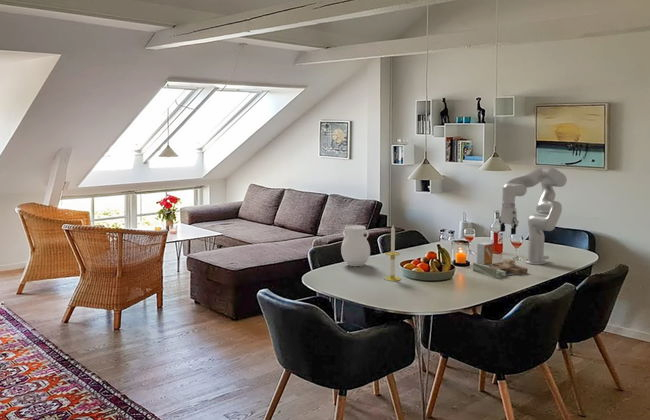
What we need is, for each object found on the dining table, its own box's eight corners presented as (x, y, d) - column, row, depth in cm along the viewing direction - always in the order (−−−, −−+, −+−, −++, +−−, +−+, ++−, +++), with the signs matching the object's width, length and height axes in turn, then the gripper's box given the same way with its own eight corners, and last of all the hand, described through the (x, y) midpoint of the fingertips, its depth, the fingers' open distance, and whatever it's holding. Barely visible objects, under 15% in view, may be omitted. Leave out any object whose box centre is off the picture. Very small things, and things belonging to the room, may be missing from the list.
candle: (396, 282, 369) (397, 226, 364) (380, 279, 374) (381, 224, 369) (403, 278, 377) (404, 223, 372) (388, 276, 382) (389, 222, 378)
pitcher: (336, 267, 405) (336, 228, 402) (346, 261, 422) (346, 223, 419) (364, 269, 398) (364, 230, 395) (373, 263, 415) (374, 225, 412)
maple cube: (509, 264, 397) (509, 258, 396) (514, 266, 392) (515, 260, 392) (502, 265, 395) (503, 259, 394) (508, 267, 390) (508, 261, 390)
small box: (483, 264, 410) (484, 244, 408) (476, 263, 415) (477, 243, 413) (492, 263, 414) (493, 243, 412) (485, 261, 420) (485, 241, 418)
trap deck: (504, 266, 405) (504, 258, 405) (527, 273, 388) (527, 265, 387) (472, 270, 394) (473, 262, 394) (494, 278, 377) (495, 269, 376)
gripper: (523, 206, 385) (522, 234, 387) (504, 203, 400) (503, 230, 403) (513, 207, 382) (512, 235, 384) (494, 204, 397) (493, 231, 400)
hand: (507, 232), depth 394 cm, fingers open, 9 cm apart
